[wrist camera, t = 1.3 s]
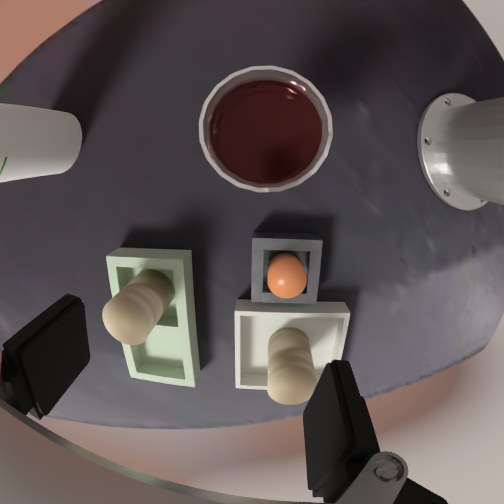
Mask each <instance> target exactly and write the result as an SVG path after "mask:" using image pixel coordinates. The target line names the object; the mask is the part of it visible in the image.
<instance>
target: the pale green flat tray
mask: <svg viewBox="0 0 504 504" xmlns="http://www.w3.org/2000/svg"><path fill="white" fill-rule="evenodd" d="M106 259H107V266H108V273H109V280H110V286H111V292H112V298H113V297H114V296H115V295H116V294H117V293H118V292H119V291H120V290H121V289H123V288H124V287H125V286H126V285H127V284H128V283H129V282H130V281H131V280H132V279H134V278H135V277H136V276H137V275H138V274H139V273H140V272H142V271H144V270H146V269H155V270H158V271H160V272H162V273H164V274H165V275H166V276H167V277H168V278H169V279H170V281H171V283H172V285H173V288H174V296H173V299H172V301H171V303H170V304H169V306H168V307H167V309H166V310H165V312H164V313H163V315H162V316H161V318H160V319H159V321H158V322H157V324H156V325H155V327H154V328H153V330H152V331H151V333H150V334H149V336H148V337H147V339H146V340H145V341H144V342H143V343H141V344H139V345H128V344H124V343H122V345H123V349H124V353H125V357H126V361H127V365H128V369H129V372H130V376H131V377H133V378H138V379H144V380H149V381H155V382H161V383H168V384H175V385H182V386H189V387H195V386H196V383H197V380H198V377H199V374H200V362H199V352H198V341H197V330H196V317H195V304H194V288H193V271H192V250H176V249H147V248H118V249H117V250H115V251H114V252H112V253H110V254H109V255H107V256H106Z"/></svg>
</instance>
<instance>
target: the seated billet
mask: <svg viewBox="0 0 504 504" xmlns="http://www.w3.org/2000/svg"><path fill="white" fill-rule="evenodd" d="M173 296H174V288H173V285H172V283H171V281H170V279H169V278H168V277H167V276H166V275H165V274H164V273H162V272H160V271H158V270H155V269H146V270H144V271H142V272H140V273H139V274H138V275H137V276H136V277H135V278H134V279H132V280H131V281H130V282H129V283H128V284H127V285H126V286H125V287H124V288H123V289H121V290H120V291H119V292H118V293H117V294H116V295H115V296H114V297H113V298H112V299H111V300H110V301H109V302H108V303H107V304H106V305H105V306H104V309H103V321H104V324H105V326H106V328H107V330H108V331H109V333H110V334H111V335H112V336H113V337H114V338H115V339H117V340H118V341H120V342H122V343H124V344H128V345H139V344H141V343H143V342H144V341H145V340H146V339H147V337H148V336H149V334H150V333H151V331H152V330H153V328H154V327H155V325H156V324H157V322H158V321H159V319H160V318H161V316H162V315H163V313H164V312H165V310H166V309H167V307H168V306H169V304H170V303H171V301H172V299H173Z"/></svg>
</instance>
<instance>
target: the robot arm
mask: <svg viewBox="0 0 504 504" xmlns="http://www.w3.org/2000/svg"><path fill="white" fill-rule="evenodd" d="M424 140H425V141H424ZM417 146H418V155H419V159H420V164H421V167H422V170H423V173H424V175H425V178H426V180H427V181H428V183H429V185H430V187H431V188H432V190H433V191H434V192H435V193H436V195H437V196H438V197H439V198H440V199H441V200H443V201H444V202H445V203H447V204H449V205H450V206H452V207H455V208H458V209H462V210H474V209H477V208H479V207H482V206H483V205H485V204H486V203H487V202H488V201H490V202H494V203H497V204H501V205H504V97H500V98H495V99H490V100H485V101H480V102H476V101H475V100H474V99H472V98H470V97H468V96H466V95H463V94H459V93H448V94H445V95H442V96H439V97H437V98H435V99H434V100H433V101H432V102H430V103H429V104H428V106H427V107H426V109H425V110H424V112H423V114H422V117H421V119H420V123H419V128H418V137H417ZM3 347H4V350H3V351H2V352H1V350H0V504H448V503H447V501H446V500H445V499H444V498H442V497H441V496H438V495H437V494H435V493H433V492H431V491H429V490H428V489H426V488H424V487H422V486H421V485H419V484H417V483H416V482H414V481H412V480H411V479H409V478H407V475H408V467H407V464H406V462H405V461H404V460H403V458H401V457H400V456H399V455H397V454H395V453H392V452H386V451H385V452H380V448H379V445H378V442H377V438H376V435H375V432H374V428H373V425H372V421H371V418H370V415H369V412H368V409H367V406H366V402H365V400H364V398H363V397H362V396H360V393H359V390H358V387H357V384H356V381H355V378H354V375H353V372H352V369H351V366H350V363H349V361H344V360H336V359H334V360H332V362H331V363H329V362H328V363H327V364H326V366H325V368H324V370H323V372H322V374H321V377H320V379H319V381H318V383H317V385H316V387H315V390H314V392H313V394H312V396H311V398H310V400H309V402H308V404H307V406H306V408H305V410H304V414H303V425H304V437H305V449H306V450H305V451H306V464H307V465H306V466H307V480H308V489H309V490H312V491H313V497H323V499H324V500H323V501H324V503H312V502H290V501H289V502H288V501H276V500H266V499H257V498H248V497H241V496H234V495H228V494H222V493H217V492H212V491H207V490H202V489H198V488H194V487H189V486H185V485H182V484H178V483H174V482H171V481H167V480H164V479H160V478H157V477H154V476H150V475H148V474H145V473H142V472H139V471H136V470H133V469H130V468H128V467H125V466H123V465H120V464H118V463H115V462H112V461H110V460H108V459H106V458H103V457H101V456H99V455H97V454H94V453H92V452H90V451H88V450H86V449H84V448H82V447H80V446H78V445H76V444H74V443H72V442H70V441H68V440H66V439H64V438H62V437H60V436H59V435H57V434H55V433H53V432H52V431H50V430H48V429H46V428H45V427H43V426H41V425H40V424H38V423H37V422H35V421H33V420H32V419H30V418H29V417H27V416H26V415H27V414H28V412H29V413H30V414H31V415H33V416H34V417H36V418H38V419H39V420H41V418H42V417H43V416H44V415H48V414H49V412H50V411H51V410H52V408H53V407H54V406H55V404H56V403H57V402H58V401H59V399H60V398H61V397H62V395H63V394H64V393H65V392H66V390H67V389H68V388H69V387H70V385H71V384H72V383H73V381H74V380H75V379H76V378H77V376H78V375H79V374H80V373H81V372H82V370H83V369H84V368H85V367H86V365H87V364H88V363H89V360H90V351H89V344H88V336H87V328H86V318H85V307H84V304H83V303H82V300H81V299H80V298H79V297H76V296H73V295H71V294H66V295H65V296H63V297H62V298H61V299H59V300H58V301H57V302H55V303H54V304H53V305H51V306H50V307H49V308H47V309H46V310H45V311H43V312H42V313H41V314H40V315H38V316H37V317H36V318H34V319H33V320H32V321H31V322H29V323H28V324H27V325H26V326H24V327H23V328H22V329H21V330H19V331H18V332H17V333H16V334H15V335H13V336H12V337H11V338H10V339H9V340H7V341H6V342H5V343H4V344H3Z"/></svg>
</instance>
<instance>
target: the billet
mask: <svg viewBox="0 0 504 504" xmlns="http://www.w3.org/2000/svg"><path fill="white" fill-rule="evenodd" d="M316 385H317V379H316V374H315V369H314V364H313V359H312V354H311V349H310V344H309V339H308V337H307V335H306V334H305V333H304V332H303V331H302V330H300V329H297V328H293V327H287V328H282V329H279V330H277V331H276V332H274V333H273V334H272V335H271V337H270V339H269V341H268V380H267V391H268V394H269V396H270V397H271V398H272V399H273V400H274V401H276V402H278V403H281V404H286V405H294V404H299V403H302V402H305V401H307V400H308V399H310V398H311V396H312V394H313V392H314V390H315V387H316Z"/></svg>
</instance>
